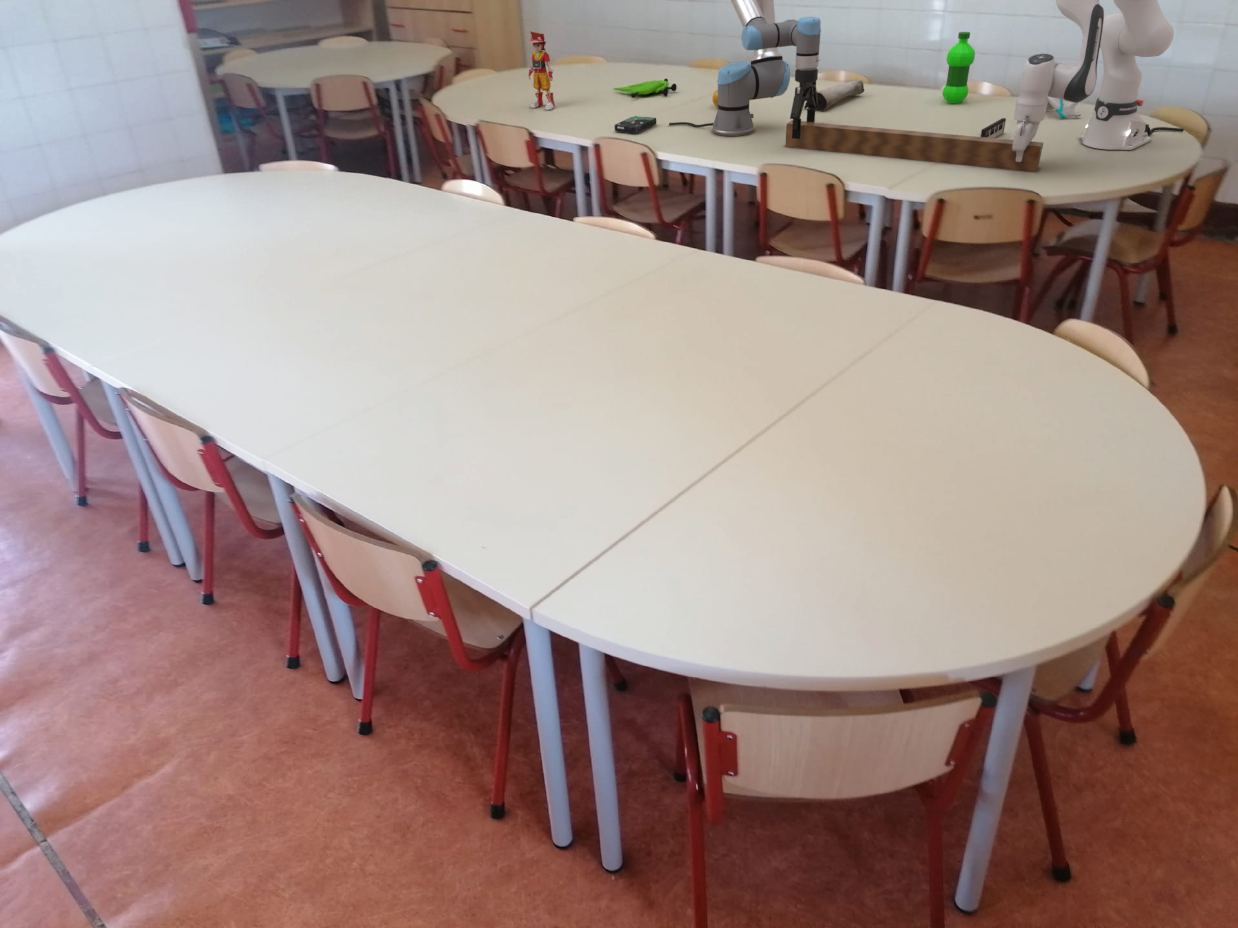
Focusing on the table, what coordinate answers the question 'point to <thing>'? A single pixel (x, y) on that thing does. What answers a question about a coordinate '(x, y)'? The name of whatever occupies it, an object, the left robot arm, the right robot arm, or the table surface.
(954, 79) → the plastic bottle
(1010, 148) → the bar
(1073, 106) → the anatomical model
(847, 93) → the rolled mat
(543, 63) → the toy
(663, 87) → the toy
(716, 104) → the fruit
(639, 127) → the disk drive
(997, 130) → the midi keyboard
